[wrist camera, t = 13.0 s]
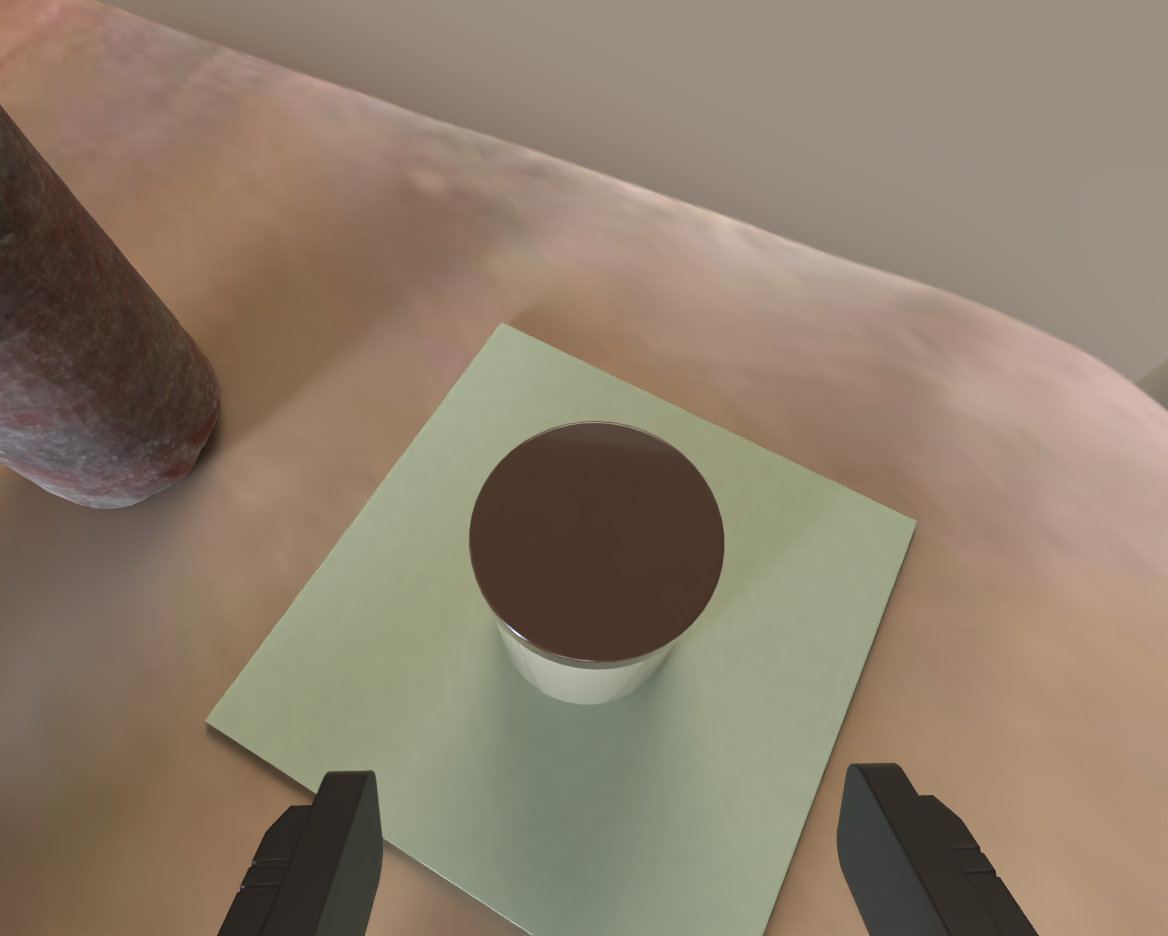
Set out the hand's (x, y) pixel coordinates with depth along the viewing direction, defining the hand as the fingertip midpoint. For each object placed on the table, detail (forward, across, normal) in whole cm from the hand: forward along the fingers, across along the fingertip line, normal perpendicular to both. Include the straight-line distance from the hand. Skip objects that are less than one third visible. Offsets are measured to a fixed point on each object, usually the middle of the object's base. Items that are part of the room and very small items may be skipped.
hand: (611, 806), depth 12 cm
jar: (+12, 0, +4) cm, 13 cm away
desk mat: (+12, 0, +4) cm, 13 cm away
